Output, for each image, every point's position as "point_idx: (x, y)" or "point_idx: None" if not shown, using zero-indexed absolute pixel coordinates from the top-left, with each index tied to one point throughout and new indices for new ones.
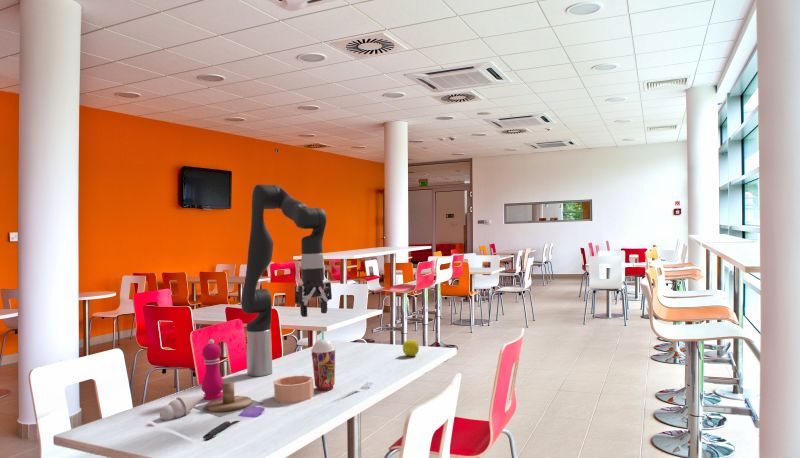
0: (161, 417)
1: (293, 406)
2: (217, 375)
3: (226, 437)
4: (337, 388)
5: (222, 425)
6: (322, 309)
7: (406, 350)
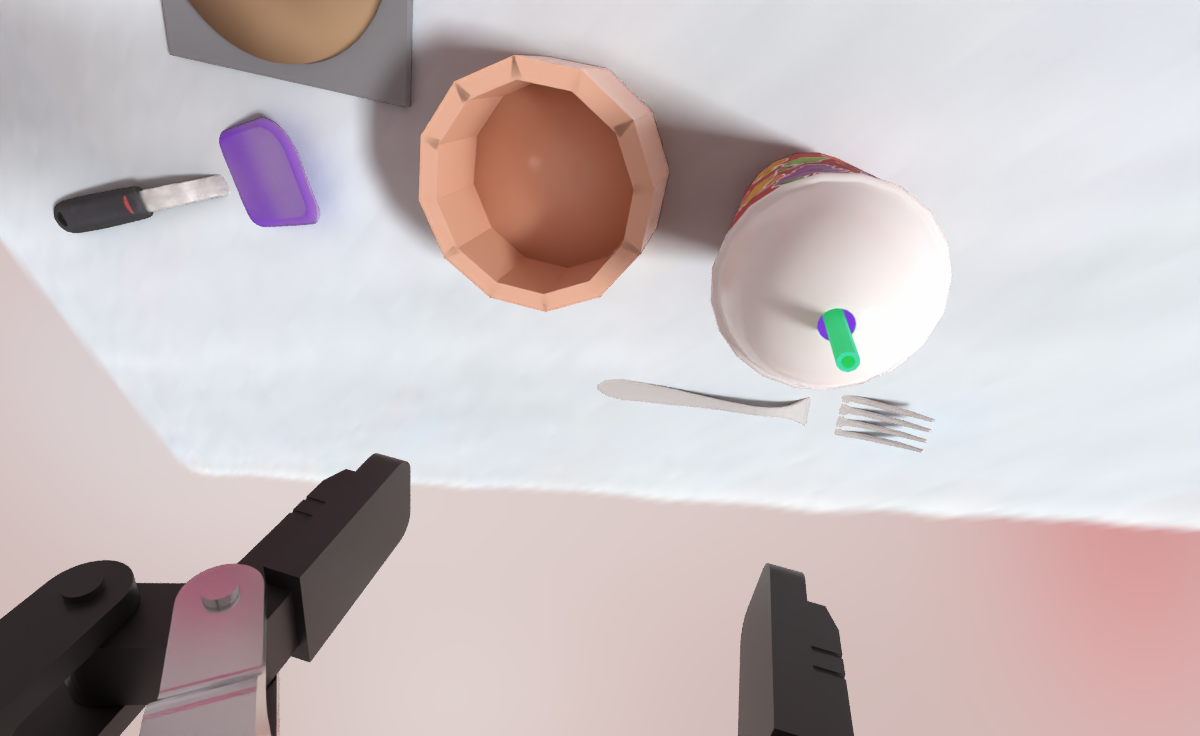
0: None
1: None
2: None
3: (127, 267)
4: None
5: (112, 216)
6: (759, 631)
7: None
